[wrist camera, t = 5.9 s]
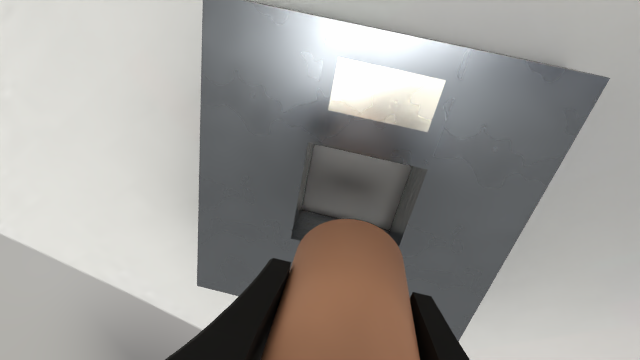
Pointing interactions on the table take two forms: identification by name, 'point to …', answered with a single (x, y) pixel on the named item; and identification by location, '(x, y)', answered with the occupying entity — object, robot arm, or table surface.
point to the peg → (344, 298)
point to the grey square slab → (374, 143)
